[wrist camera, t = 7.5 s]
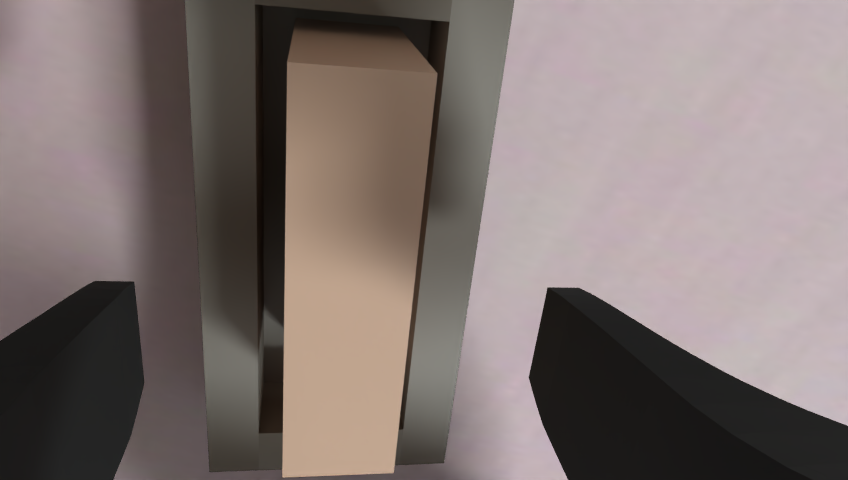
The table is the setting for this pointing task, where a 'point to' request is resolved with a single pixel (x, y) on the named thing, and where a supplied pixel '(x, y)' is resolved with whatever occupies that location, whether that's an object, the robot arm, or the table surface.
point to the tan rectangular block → (350, 240)
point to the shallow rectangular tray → (266, 201)
